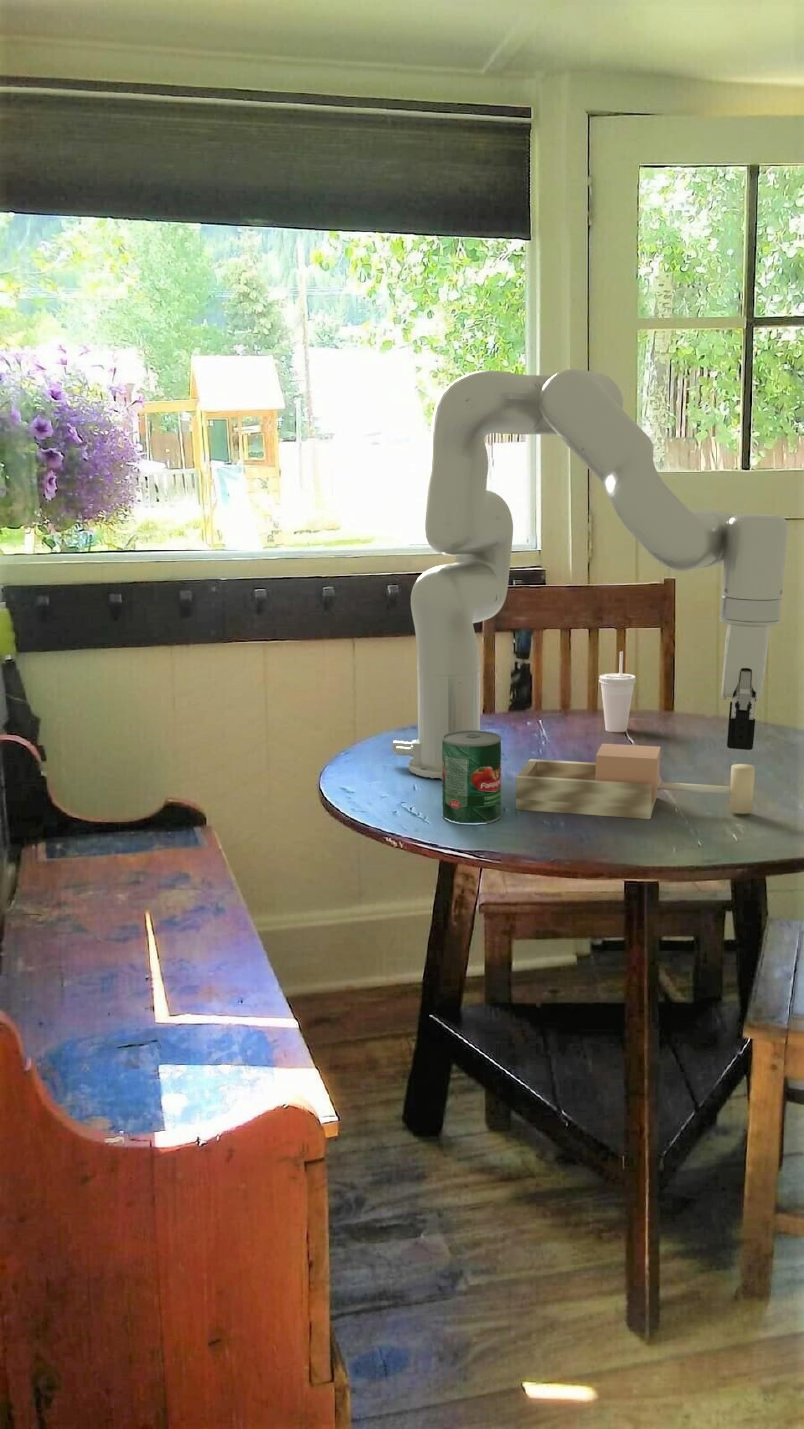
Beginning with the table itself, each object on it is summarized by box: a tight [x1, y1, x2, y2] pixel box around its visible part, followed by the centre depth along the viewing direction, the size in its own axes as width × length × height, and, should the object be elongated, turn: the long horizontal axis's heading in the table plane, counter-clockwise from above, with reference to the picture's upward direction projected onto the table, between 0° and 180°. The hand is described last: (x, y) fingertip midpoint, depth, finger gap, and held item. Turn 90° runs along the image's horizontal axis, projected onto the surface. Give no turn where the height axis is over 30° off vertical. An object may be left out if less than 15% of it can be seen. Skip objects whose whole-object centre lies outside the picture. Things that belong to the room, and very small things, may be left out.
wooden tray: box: [515, 758, 656, 820], centre depth 159 cm, size 18×11×4 cm, turn 74°
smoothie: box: [598, 651, 637, 733], centre depth 202 cm, size 6×6×14 cm
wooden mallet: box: [595, 743, 756, 815], centre depth 155 cm, size 20×7×7 cm, turn 74°
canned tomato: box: [441, 730, 502, 824], centre depth 153 cm, size 8×8×11 cm
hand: (739, 739), depth 152 cm, fingers open, 9 cm apart
